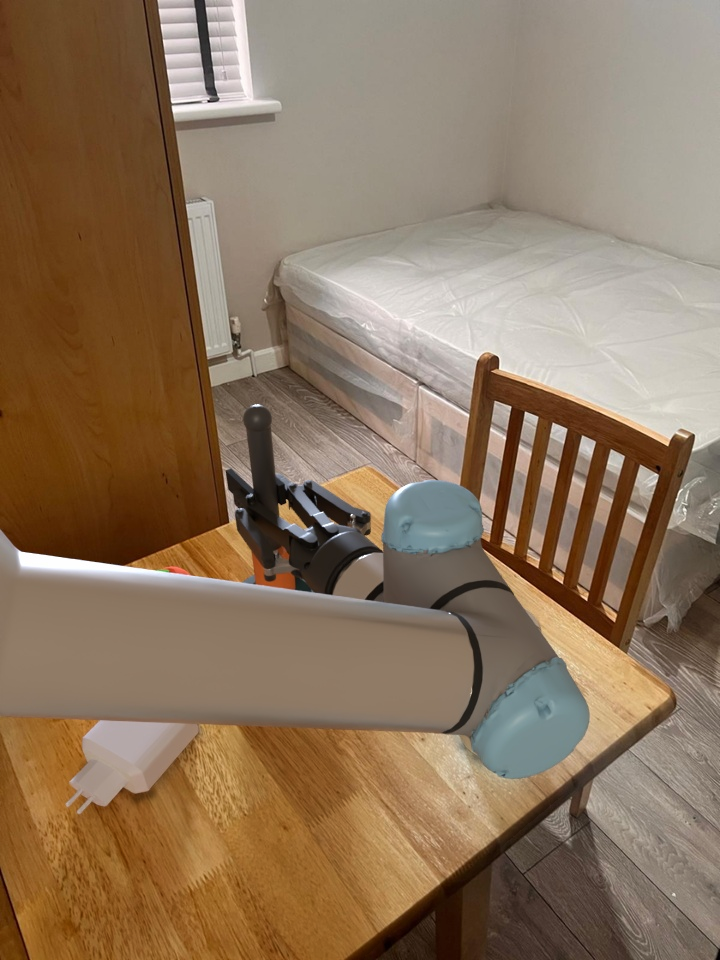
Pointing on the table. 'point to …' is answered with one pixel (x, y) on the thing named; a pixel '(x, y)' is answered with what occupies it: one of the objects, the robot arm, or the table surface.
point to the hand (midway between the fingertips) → (242, 474)
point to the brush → (264, 483)
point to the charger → (127, 757)
